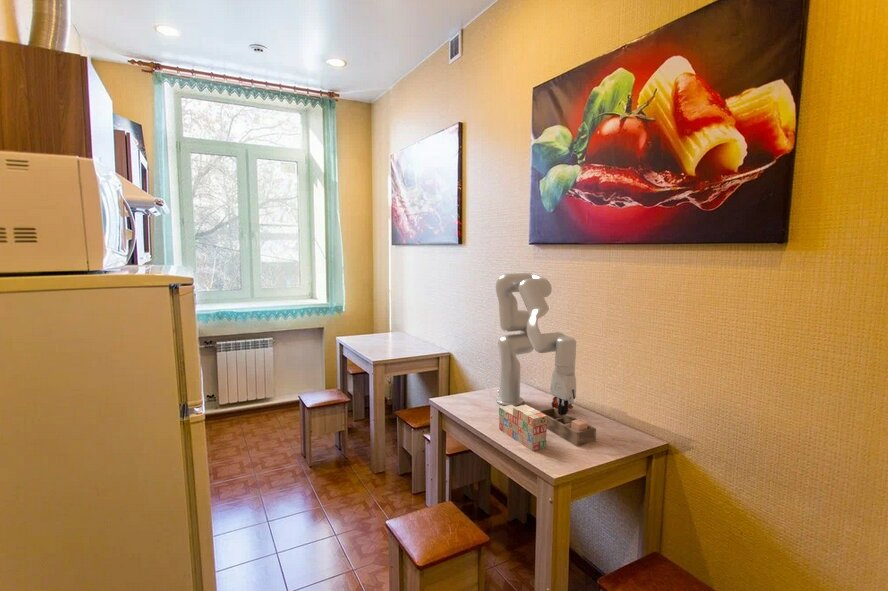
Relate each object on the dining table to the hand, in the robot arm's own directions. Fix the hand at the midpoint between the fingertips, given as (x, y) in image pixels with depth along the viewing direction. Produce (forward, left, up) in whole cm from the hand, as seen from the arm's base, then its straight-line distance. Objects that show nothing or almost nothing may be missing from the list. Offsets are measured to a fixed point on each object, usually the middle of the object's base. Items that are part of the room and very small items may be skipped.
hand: (562, 414), depth 171 cm
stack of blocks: (-1, -18, -7) cm, 20 cm away
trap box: (+1, 0, -7) cm, 7 cm away
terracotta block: (+9, 0, -4) cm, 10 cm away
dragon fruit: (-16, +14, -7) cm, 22 cm away
